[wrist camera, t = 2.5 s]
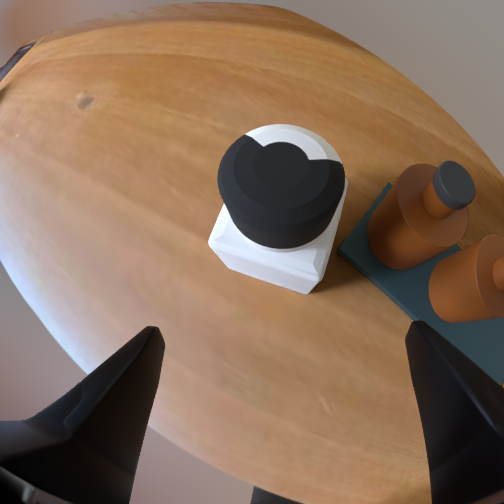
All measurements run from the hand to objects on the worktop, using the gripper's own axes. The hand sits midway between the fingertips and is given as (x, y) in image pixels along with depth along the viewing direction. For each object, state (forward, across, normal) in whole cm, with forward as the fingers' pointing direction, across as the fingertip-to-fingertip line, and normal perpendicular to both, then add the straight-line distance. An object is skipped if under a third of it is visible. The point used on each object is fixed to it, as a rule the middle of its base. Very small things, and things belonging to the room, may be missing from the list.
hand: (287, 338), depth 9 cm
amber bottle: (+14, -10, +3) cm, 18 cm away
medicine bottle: (+14, 0, +4) cm, 15 cm away
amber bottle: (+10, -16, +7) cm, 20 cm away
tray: (+10, -16, +8) cm, 21 cm away
